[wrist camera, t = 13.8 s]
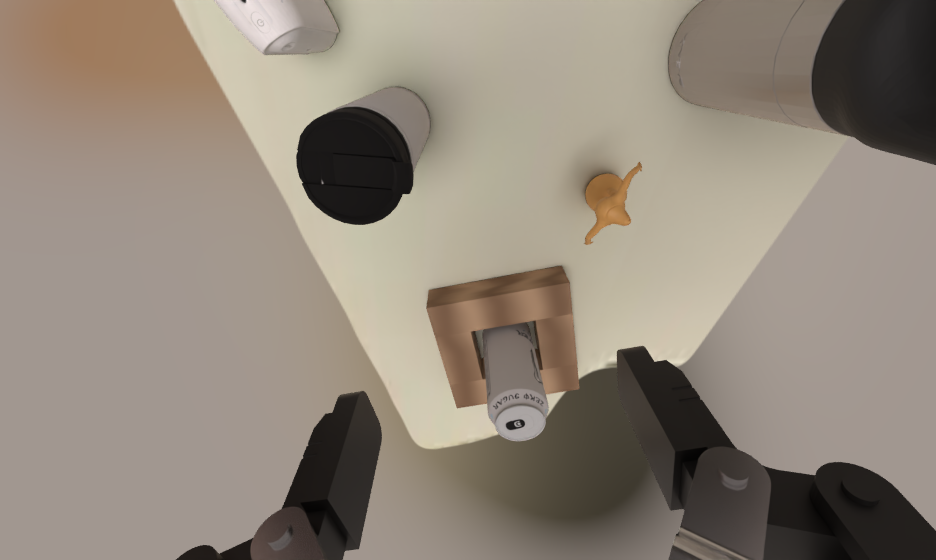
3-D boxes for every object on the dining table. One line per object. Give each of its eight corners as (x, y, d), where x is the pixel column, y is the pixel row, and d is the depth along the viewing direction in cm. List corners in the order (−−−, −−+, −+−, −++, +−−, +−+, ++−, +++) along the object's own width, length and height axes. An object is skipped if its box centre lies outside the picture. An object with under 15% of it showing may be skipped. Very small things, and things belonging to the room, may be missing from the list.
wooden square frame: (561, 265, 47) (569, 282, 43) (571, 367, 54) (579, 388, 51) (428, 290, 48) (426, 308, 45) (457, 386, 56) (457, 408, 52)
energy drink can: (534, 341, 52) (558, 436, 39) (490, 353, 53) (499, 451, 40) (521, 304, 49) (543, 394, 36) (475, 318, 50) (480, 411, 37)
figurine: (593, 228, 44) (633, 281, 34) (547, 206, 43) (574, 254, 33) (639, 160, 41) (700, 195, 30) (590, 133, 40) (636, 161, 29)
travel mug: (433, 157, 40) (412, 233, 23) (368, 152, 40) (295, 226, 23) (435, 89, 37) (411, 117, 20) (364, 83, 37) (277, 107, 20)
